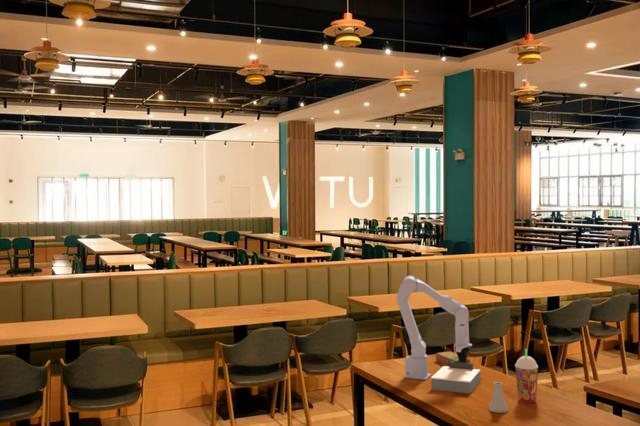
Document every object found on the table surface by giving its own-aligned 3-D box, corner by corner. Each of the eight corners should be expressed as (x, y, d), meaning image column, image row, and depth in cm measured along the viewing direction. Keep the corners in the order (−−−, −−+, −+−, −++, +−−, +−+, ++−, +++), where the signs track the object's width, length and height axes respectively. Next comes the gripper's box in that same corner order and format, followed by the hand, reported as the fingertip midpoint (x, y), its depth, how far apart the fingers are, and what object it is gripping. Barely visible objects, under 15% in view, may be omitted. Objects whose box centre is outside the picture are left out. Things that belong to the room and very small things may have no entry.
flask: (509, 407, 238) (508, 381, 237) (508, 414, 231) (507, 386, 230) (489, 406, 240) (488, 379, 240) (487, 412, 233) (486, 385, 233)
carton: (450, 359, 308) (450, 350, 308) (470, 367, 293) (470, 358, 293) (435, 361, 305) (435, 352, 305) (455, 370, 290) (455, 360, 290)
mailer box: (431, 389, 262) (431, 379, 262) (443, 377, 278) (443, 368, 278) (470, 393, 255) (470, 383, 255) (480, 381, 271) (480, 371, 271)
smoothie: (511, 399, 246) (509, 348, 246) (528, 396, 250) (527, 345, 249) (526, 405, 239) (524, 352, 238) (543, 402, 242) (542, 349, 241)
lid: (431, 378, 262) (430, 371, 262) (443, 367, 278) (443, 360, 278) (470, 383, 255) (469, 375, 255) (480, 370, 271) (480, 363, 271)
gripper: (467, 337, 268) (468, 370, 268) (475, 330, 281) (476, 361, 281) (450, 336, 271) (451, 368, 272) (459, 329, 284) (460, 359, 284)
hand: (462, 364), depth 277 cm, fingers closed
